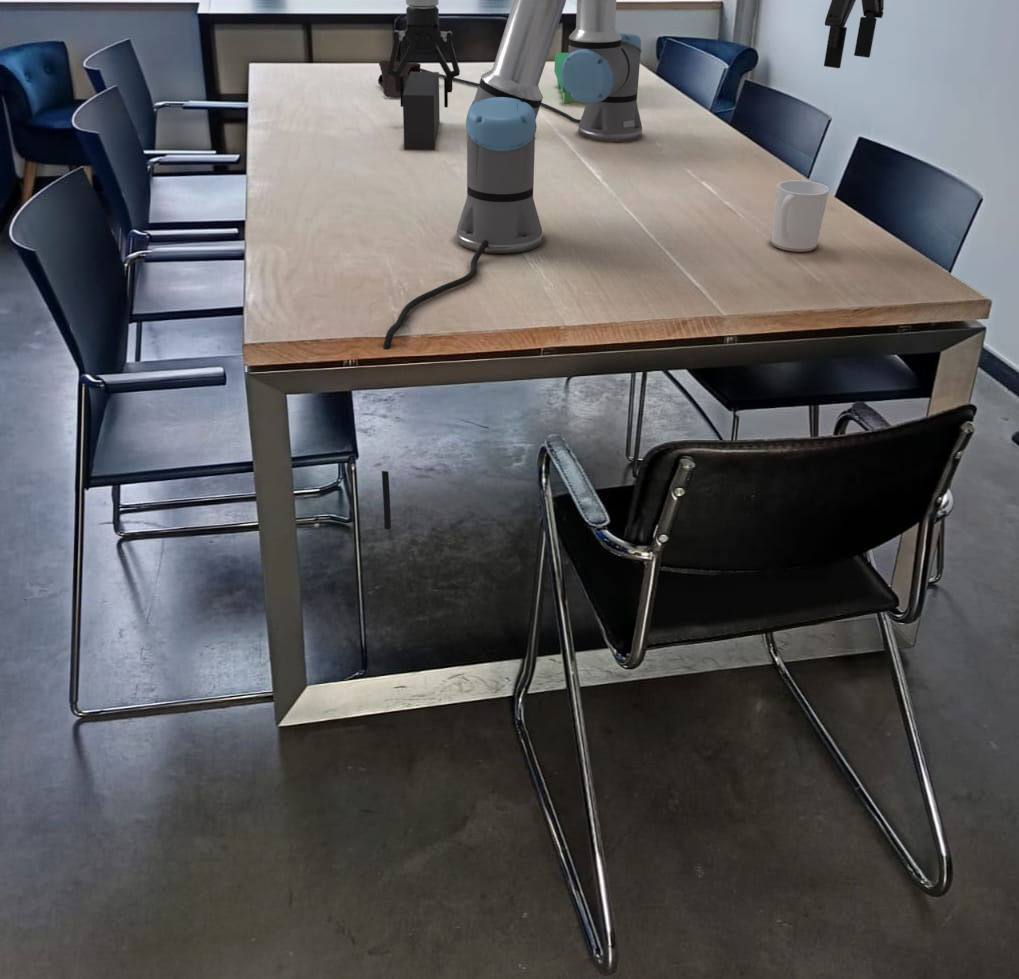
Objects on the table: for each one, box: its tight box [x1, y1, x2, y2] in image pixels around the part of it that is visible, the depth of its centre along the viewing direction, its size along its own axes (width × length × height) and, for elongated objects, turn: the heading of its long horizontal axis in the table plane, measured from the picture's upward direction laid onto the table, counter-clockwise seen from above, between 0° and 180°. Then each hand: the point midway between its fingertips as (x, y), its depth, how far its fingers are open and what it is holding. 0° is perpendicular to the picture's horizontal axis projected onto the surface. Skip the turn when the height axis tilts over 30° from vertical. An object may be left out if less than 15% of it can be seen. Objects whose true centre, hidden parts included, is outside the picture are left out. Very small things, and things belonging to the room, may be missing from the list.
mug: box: [770, 179, 830, 253], centre depth 193 cm, size 11×9×10 cm
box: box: [402, 71, 441, 151], centre depth 256 cm, size 26×7×12 cm, turn 1°
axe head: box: [377, 59, 421, 99], centre depth 299 cm, size 18×8×15 cm
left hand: (847, 61), depth 194 cm, fingers open, 13 cm apart
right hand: (424, 105), depth 265 cm, fingers open, 10 cm apart
